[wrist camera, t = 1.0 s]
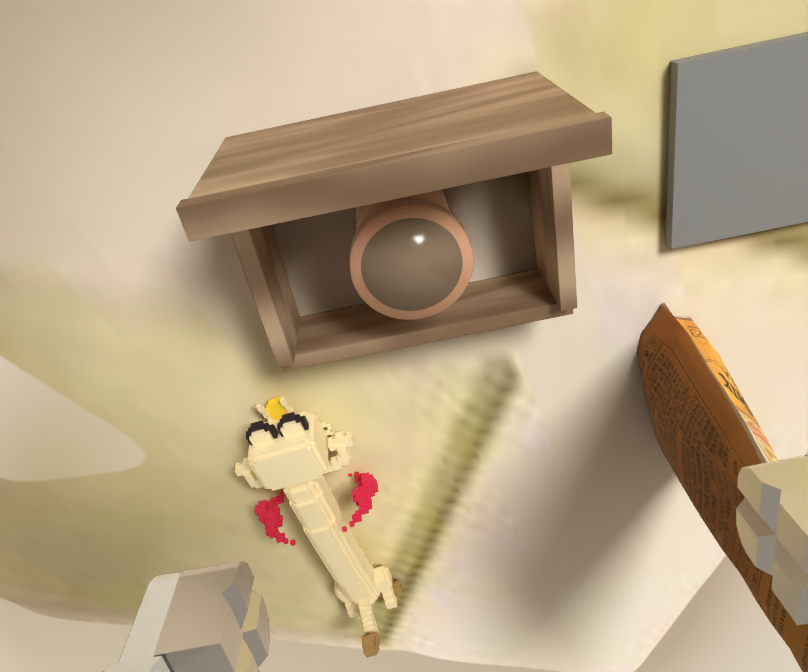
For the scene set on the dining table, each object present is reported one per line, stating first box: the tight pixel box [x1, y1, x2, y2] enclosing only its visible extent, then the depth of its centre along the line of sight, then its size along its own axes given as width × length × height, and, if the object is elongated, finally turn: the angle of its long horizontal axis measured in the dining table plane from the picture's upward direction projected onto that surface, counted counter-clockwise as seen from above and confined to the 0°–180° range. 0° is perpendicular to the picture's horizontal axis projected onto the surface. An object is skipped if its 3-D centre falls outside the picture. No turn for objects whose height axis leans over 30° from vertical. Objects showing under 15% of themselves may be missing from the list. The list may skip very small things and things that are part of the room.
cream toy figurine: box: [235, 397, 402, 657], centre depth 52 cm, size 10×9×25 cm
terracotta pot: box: [350, 190, 473, 320], centre depth 39 cm, size 7×7×8 cm
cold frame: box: [176, 72, 612, 371], centre depth 37 cm, size 14×19×13 cm
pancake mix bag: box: [637, 303, 808, 672], centre depth 40 cm, size 7×19×28 cm, turn 22°
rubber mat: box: [665, 32, 808, 249], centre depth 41 cm, size 12×11×1 cm
